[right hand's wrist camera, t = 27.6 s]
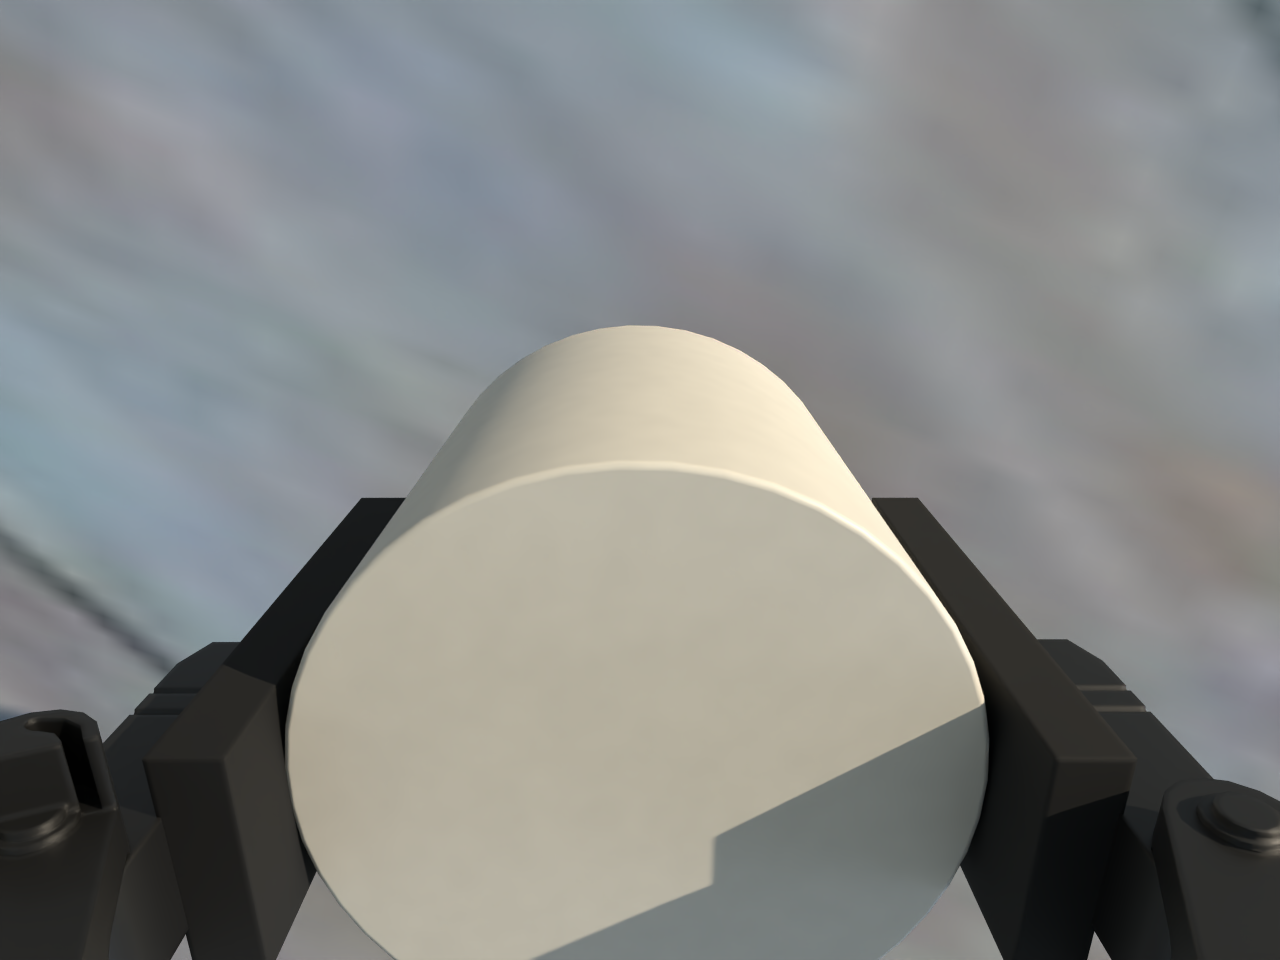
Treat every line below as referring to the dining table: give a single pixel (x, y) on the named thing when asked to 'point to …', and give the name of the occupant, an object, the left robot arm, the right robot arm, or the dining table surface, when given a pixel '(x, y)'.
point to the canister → (637, 683)
